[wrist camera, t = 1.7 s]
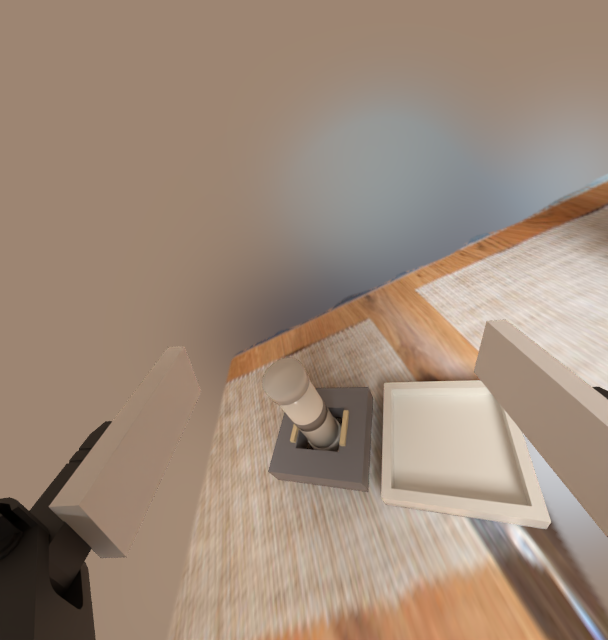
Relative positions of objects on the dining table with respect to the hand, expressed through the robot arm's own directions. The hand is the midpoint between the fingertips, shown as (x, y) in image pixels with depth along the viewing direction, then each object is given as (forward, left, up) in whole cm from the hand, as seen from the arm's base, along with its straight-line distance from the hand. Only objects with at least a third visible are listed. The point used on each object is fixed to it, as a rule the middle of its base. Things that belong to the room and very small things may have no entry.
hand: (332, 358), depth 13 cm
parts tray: (-8, +4, -27) cm, 28 cm away
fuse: (-8, -11, -27) cm, 30 cm away
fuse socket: (-8, -11, -27) cm, 30 cm away
